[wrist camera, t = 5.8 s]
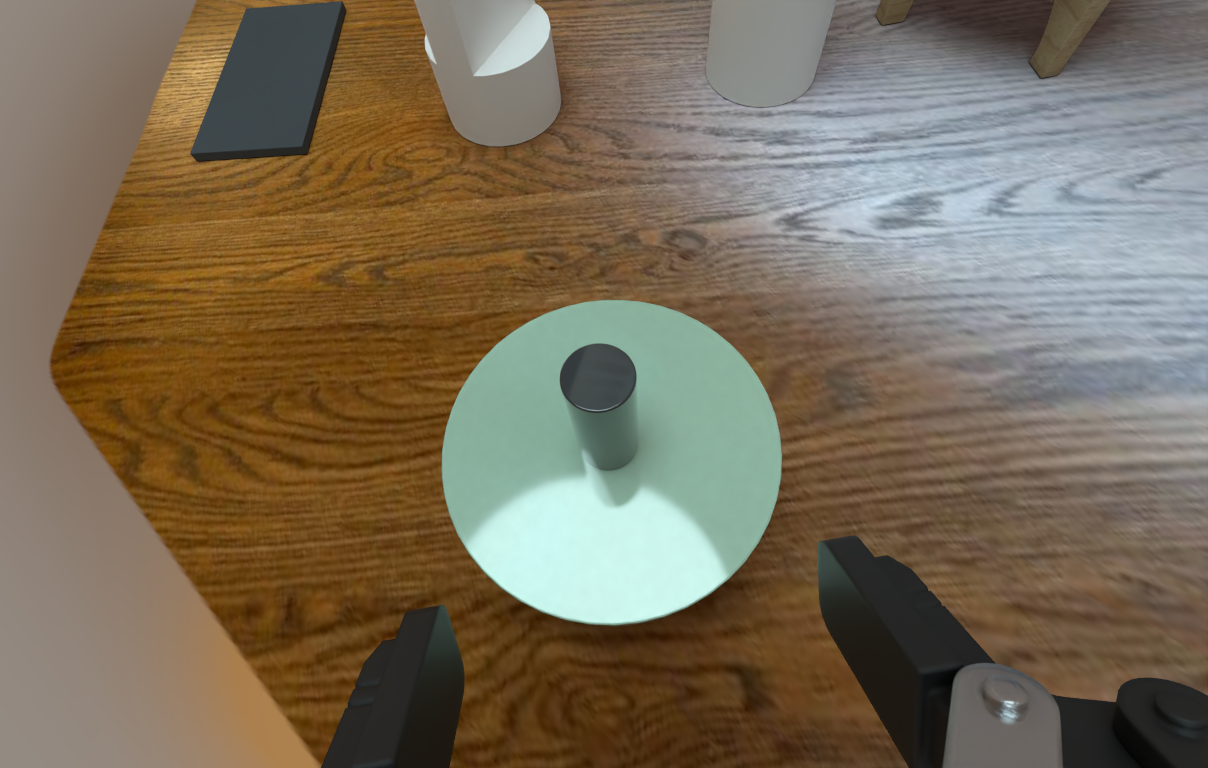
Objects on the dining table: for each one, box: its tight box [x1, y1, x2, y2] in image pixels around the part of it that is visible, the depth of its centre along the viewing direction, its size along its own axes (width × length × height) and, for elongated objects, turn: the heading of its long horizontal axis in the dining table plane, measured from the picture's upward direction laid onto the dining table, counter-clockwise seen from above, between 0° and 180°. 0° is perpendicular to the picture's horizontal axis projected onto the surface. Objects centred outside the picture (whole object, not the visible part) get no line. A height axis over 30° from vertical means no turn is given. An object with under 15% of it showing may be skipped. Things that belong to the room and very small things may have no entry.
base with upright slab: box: [414, 0, 561, 146], centre depth 41 cm, size 9×9×12 cm
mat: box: [190, 1, 346, 161], centre depth 50 cm, size 18×9×1 cm, turn 1°
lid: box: [442, 300, 782, 626], centre depth 21 cm, size 14×14×7 cm
